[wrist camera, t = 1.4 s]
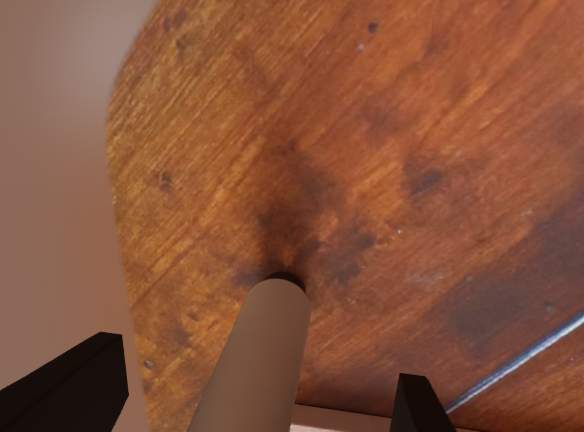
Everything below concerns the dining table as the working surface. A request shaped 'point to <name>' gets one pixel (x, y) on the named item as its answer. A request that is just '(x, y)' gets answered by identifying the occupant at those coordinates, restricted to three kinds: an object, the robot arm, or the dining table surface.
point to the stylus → (259, 362)
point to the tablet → (338, 421)
